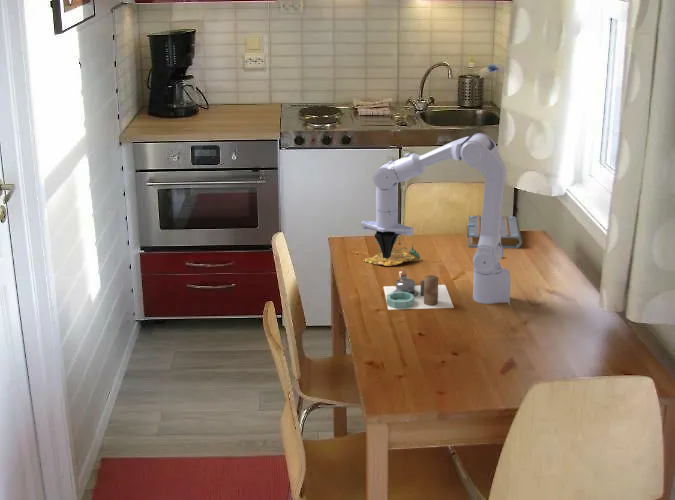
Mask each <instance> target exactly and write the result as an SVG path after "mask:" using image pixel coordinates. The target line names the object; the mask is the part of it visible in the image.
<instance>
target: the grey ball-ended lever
mask: <svg viewBox="0 0 675 500" xmlns="http://www.w3.org/2000/svg"><path fill="white" fill-rule="evenodd" d="M395 286H396V292H407V293H411V294H414V293H415V286H416V282H415V280H414V279H410V278H408V271H407V270H404V269H400V270H398V279H397V280H396V281H395Z"/></svg>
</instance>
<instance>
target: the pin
mask: <svg viewBox="0 0 675 500" xmlns="http://www.w3.org/2000/svg"><path fill="white" fill-rule="evenodd" d="M423 281H424V304H425V305H429V306H434V305H437V304H438V285H439V277H438V276H436V275H426V276H424V280H423Z"/></svg>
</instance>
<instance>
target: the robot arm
mask: <svg viewBox="0 0 675 500" xmlns="http://www.w3.org/2000/svg"><path fill="white" fill-rule="evenodd" d="M449 159H453V160H455V161H458V162H461V160H462V161H463V162H464V163H465V164H466V165H468V166H470V167H472V168H473V169H476V170H478V171H479V172H480V173H481V174H482V175H483V176H484V186H483V187H484V188H483V198H482V199H483V200H482V213H481V216H482V221H481V233H480V239H479V242H478V247H477V249H476V252H475V254H474V255H473V257H472V265H473V285H472V299H473V301H474V302H476V303H479V304H485V305H491V304H499V303H507V304H508V305H509V306H511V303H510V301H511V280H512V279H511V274H510V273H511V272H510V269H508V268H503V267H502V265H501V263H500V261H501V259H502V258H503V255H504V248H502V246H501V236H500V224H501V216H502V211H503V200H504V192H505V183H506V182H505V181H506V172H507V171H506V165H505V163H504V161H503V159H502V156H501V154H500V152H499V151H498V148H497V145H496V142H495V141H494V140H493V139H491V137H489V136H488V135H487V134H484V133H481V132H480V133H474V134H473V135H472V136H465V137H462V138H459V139H456V140H453V141H451V142H448V143H446V144H444V145H442V146H440V147H437V148H435V149H433V150H431V151H428V152H426V153H424V154H422V155H420V154H417V153H410V152H407V153H405V154H404V155H403V157H401V158H399V159H396V160H389V161H388V163H385V164H383V165H382V166H380V167H379V168H378V169H377V170H375V171H374V173H373V176H372V181H373V183H374V185H375V187H376V188H375V217H376V218H375V220H362V221H361V222H360V225H361V226H360V228H361V230H363V231H364V230H369V231H375V233H374V238H375V239H376V240H377V242H378V243H377V244H378V245H379V247H380V251H381V253H382V255H383V258H386V259H388V258H389V257H391V253H392V251H393V248H394V245H395V244H396V243H395V240H396V238H397V239H398V237H399V236H400V235H405V236H407V237H411V236H413V235H414V227H411V226H407V225H404V224H401V223H398V222H399V221H398V214H399V213H398V212H399V211H398V210H399V209H398V197H399V196H398V194H399V193H398V183H402V182H404V181H407V180H410V179H413V178H415V177H417V176H419V175H422V174H423V173H424V172H425V168H426V167H429V166H433V165H435V164H437V163H441V162H444V161H446V160H449ZM394 243H395V244H394Z"/></svg>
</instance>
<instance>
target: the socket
mask: <svg viewBox="0 0 675 500" xmlns="http://www.w3.org/2000/svg"><path fill="white" fill-rule="evenodd" d="M413 304H414V296H413V294H411V293H407V292H392V293H390V294H388V295H387V302H386V306H387V305H388V306H390V307H393V308H408V307H411V306H412V305H413ZM388 306H387V307H388Z"/></svg>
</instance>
